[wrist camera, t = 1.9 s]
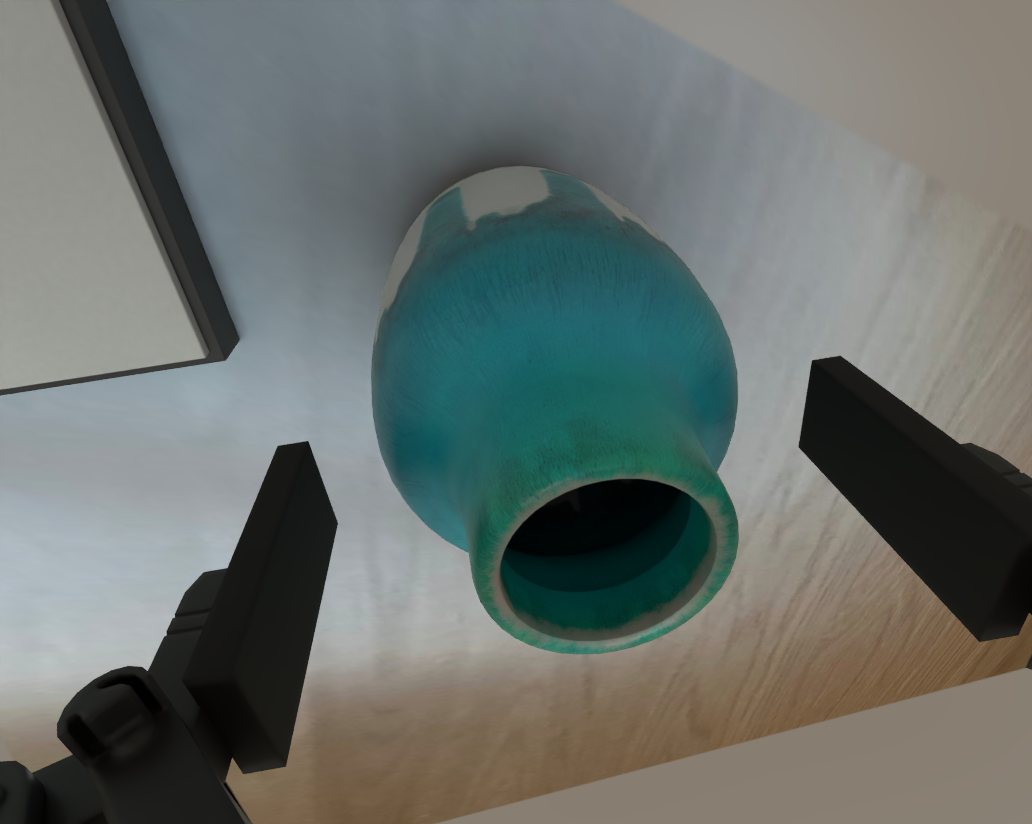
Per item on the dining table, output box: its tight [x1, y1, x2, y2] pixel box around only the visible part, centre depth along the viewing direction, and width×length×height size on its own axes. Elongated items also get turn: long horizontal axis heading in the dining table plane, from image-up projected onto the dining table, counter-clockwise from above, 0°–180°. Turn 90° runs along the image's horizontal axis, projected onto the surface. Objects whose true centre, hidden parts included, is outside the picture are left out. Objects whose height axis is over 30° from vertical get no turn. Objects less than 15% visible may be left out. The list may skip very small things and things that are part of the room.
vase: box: [371, 166, 738, 654], centre depth 20 cm, size 11×11×19 cm
